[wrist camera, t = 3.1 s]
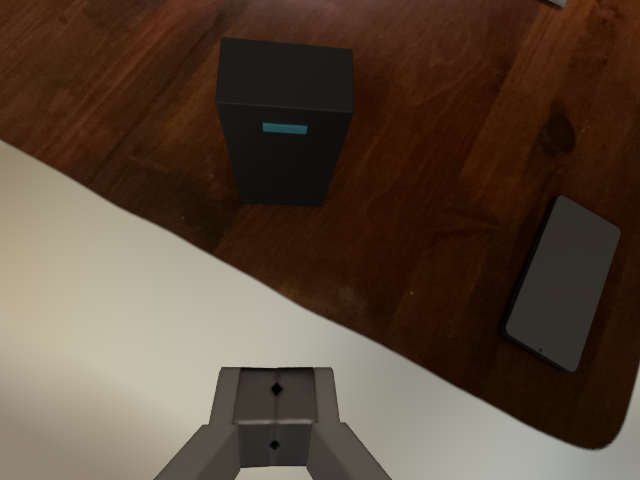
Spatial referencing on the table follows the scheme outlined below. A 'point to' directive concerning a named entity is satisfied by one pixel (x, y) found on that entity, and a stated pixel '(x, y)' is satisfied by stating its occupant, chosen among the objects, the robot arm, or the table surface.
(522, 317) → the smartphone
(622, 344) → the table surface
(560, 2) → the laptop
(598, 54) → the table surface
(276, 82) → the black power bank
